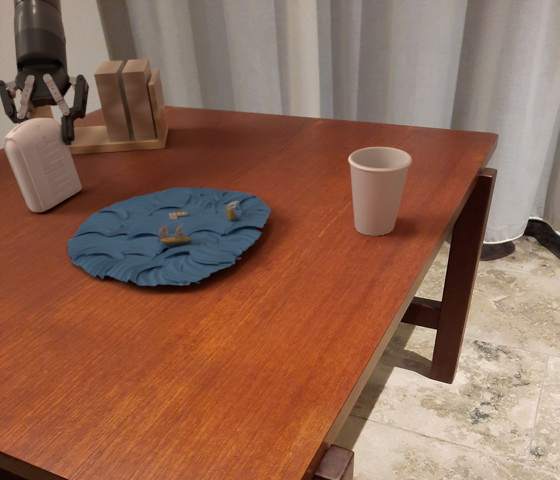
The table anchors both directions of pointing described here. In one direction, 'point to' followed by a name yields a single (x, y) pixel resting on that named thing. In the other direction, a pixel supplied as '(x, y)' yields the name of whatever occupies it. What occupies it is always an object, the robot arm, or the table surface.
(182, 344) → the table surface
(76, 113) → the robot arm
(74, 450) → the table surface
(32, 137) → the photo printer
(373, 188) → the dixie cup
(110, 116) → the rack
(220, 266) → the decorative plate
